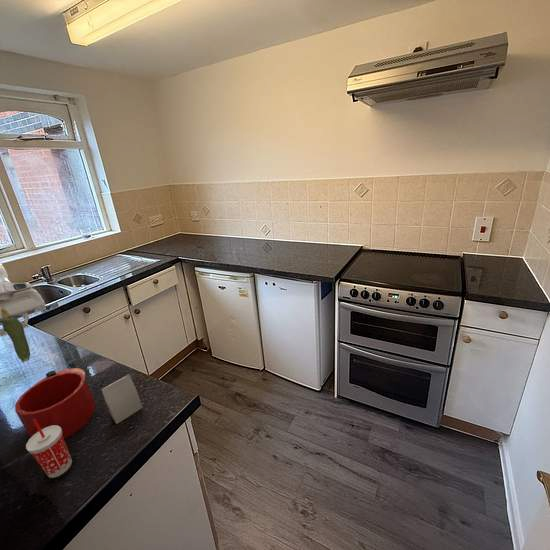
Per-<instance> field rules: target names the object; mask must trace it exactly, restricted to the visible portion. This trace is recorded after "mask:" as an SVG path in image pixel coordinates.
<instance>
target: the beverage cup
mask: <svg viewBox="0 0 550 550" xmlns="http://www.w3.org/2000/svg"><path fill="white" fill-rule="evenodd" d="M33 422H34V423H35V425H36V427H37V429H38V431H39V432H37V433H36V434H34V435H33V436H32V437H31V438H30V437H29V439H28V441H27V443H26V444H25V449H26V450H27V452H28V453H29V454H31V455H32V456H33V458H34V459H35V461H36V462H37V463H38V465H39V466H40V467H41V469H42V470H43V471H44V473H45V474H46V476H47V477H48V478H49V479H50V478H52V479H54V478H57V477H60V476H61V475H63V474H64V473H66V472H67V471H68V470H69V468H71V466H72V463H73V460H72V457H71V453H70V452H69V449H68V446H67V443H66V442H65V438H63V436H62V430H61V427H59V426H54V425H53V426H49V427H46V428H44V429H42V430H41V428H40V426H39V424H38V422H37V420H36V419H33Z"/></svg>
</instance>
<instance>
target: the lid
mask: <svg viewBox="0 0 550 550" xmlns="http://www.w3.org/2000/svg"><path fill="white" fill-rule="evenodd" d="M75 371H76V372H79V373H82V374H83V375H84V377H85V378H86V376H87V373H86V372H85V370H83V369H82V368H77V367H72V368H66V369H63V370H59V371H56V370H50V371H48V372H47V373H46V374H45V377H44V378H42V379H41V380H39V381H38V382H36V383H35V384H34V385H36V384H37V383H39V382H41V381H42V380H45V379H47V378H49V377H52V376H54V375H57V374H61V373H65V372H75Z"/></svg>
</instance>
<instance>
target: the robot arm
mask: <svg viewBox="0 0 550 550" xmlns="http://www.w3.org/2000/svg"><path fill="white" fill-rule="evenodd" d="M46 305H47V304H46V302H45V300H44V299H43V297H42V296H41V294H40V293H39V292H38V291H37V290H36V289H33V287H32V285H31V283H29V282H13V283H12V282H11V281H10V280H9V275H8V272H7V270H6V269H5V267H4V265H3V264H2V262H1V261H0V325H2V322H3V320H4V319H5V318H3V317H2V315H1V309H2V308H4V309H6V310H7V312H8V313H9V314H10V315H11V316H12V317H16V318H17V319H18V320H19V319H21V318H22V319H23V321H20V322H21V324H22V327H23V329H24V330H25V329H27V328H29V327H30V326H29V324H28V322H29V319H30V315H32V314H36V313H38V312H41V311H44V310H45V309H46ZM7 335H8V334H7V333H6V331H5V330H4V328H3V327H2V328H0V337H5V336H7Z"/></svg>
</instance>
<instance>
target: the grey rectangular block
mask: <svg viewBox="0 0 550 550" xmlns="http://www.w3.org/2000/svg"><path fill="white" fill-rule="evenodd" d="M101 393H102V395H103V400H104V401H105V404H106V406H107V409H108V411H109V414H110V416H111V418H112V420H113V422H114V423H115V424H116V425H118V424H119V423H121V422H123V421H124V420H125V419H127V418H129V417H131V416H132V415H134V414H135V413H137V412H138V411H140V410H142V409H143V408H144V407H143V404H142V401H141V399H140V396H139V393H138V390H137V387H136V386H135V384H134V381H133V379H132V377H131V374H127V375H125V376H123V377H122V378H119V379H118V380H116V381H114V382H112V383H110V384H108V385H107V386H105V387H102V388H101Z"/></svg>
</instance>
